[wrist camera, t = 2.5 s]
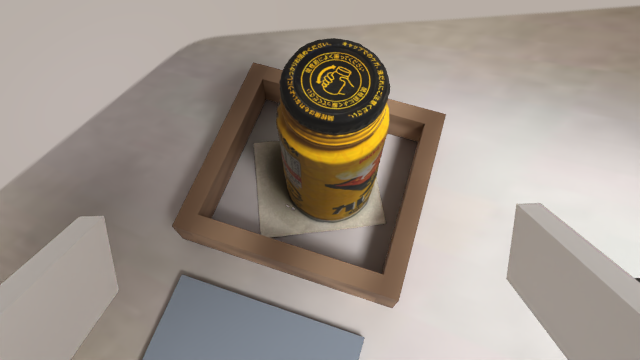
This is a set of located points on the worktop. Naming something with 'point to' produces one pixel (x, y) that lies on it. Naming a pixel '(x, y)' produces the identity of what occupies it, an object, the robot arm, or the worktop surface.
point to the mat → (241, 330)
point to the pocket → (290, 258)
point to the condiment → (325, 142)
